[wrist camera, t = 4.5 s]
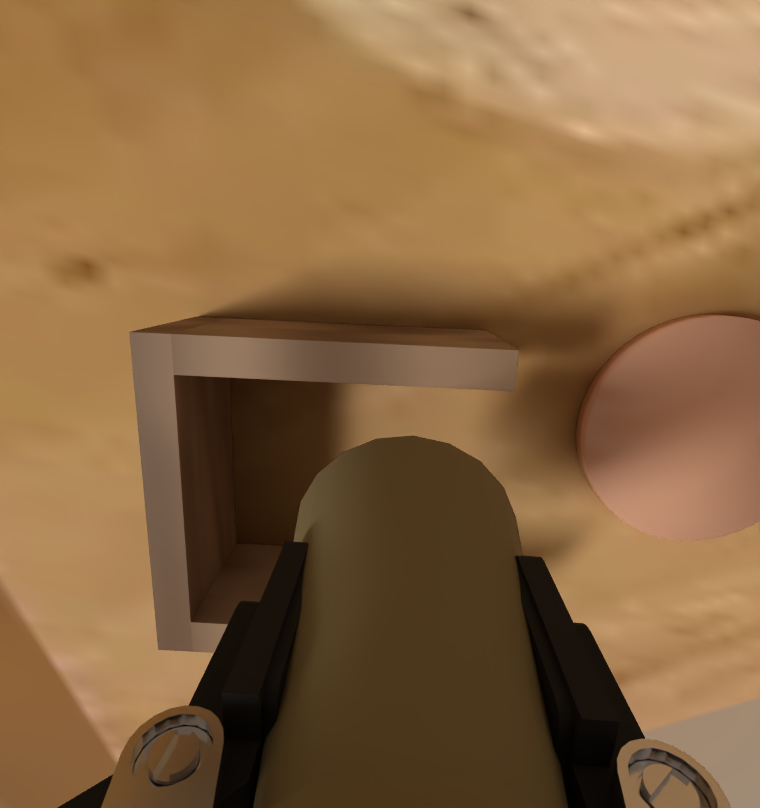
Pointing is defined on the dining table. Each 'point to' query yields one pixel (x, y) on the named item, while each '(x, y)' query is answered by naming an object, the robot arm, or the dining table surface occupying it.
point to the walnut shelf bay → (212, 438)
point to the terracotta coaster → (678, 429)
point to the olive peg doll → (410, 644)
